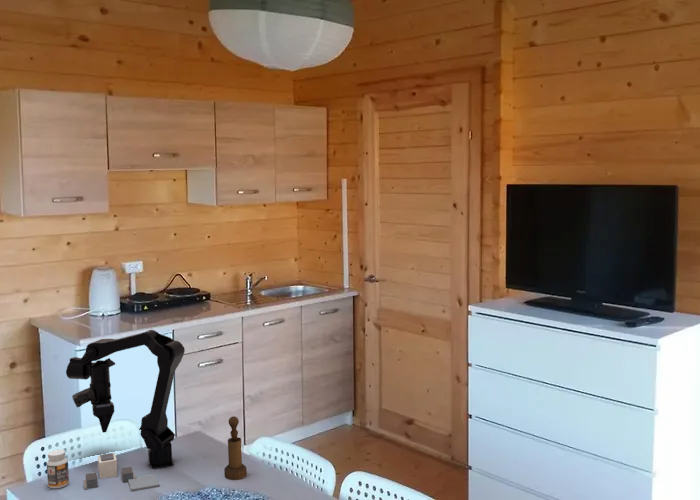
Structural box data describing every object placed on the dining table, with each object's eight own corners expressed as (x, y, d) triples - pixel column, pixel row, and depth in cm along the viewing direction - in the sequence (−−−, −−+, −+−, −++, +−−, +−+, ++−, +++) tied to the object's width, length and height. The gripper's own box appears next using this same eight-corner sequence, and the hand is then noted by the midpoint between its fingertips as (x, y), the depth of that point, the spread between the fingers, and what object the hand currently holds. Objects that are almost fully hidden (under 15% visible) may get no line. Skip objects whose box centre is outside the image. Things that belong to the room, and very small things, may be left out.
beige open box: (115, 468, 224) (114, 451, 224) (117, 476, 219) (116, 458, 218) (98, 471, 222) (97, 454, 222) (100, 479, 217) (99, 461, 216)
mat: (155, 476, 218) (155, 474, 218) (159, 486, 210) (159, 484, 210) (128, 480, 215) (127, 479, 214) (130, 491, 207) (130, 489, 207)
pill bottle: (61, 489, 209) (59, 456, 208) (44, 488, 211) (41, 455, 210) (73, 481, 215) (70, 449, 214) (55, 480, 216) (53, 448, 215)
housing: (134, 473, 220) (133, 465, 220) (136, 480, 215) (135, 472, 214) (83, 482, 214) (82, 474, 214) (84, 489, 209) (83, 481, 209)
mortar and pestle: (251, 473, 218) (248, 415, 217) (239, 481, 213) (236, 421, 211) (232, 469, 221) (230, 412, 219) (220, 477, 215) (217, 419, 213)
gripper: (72, 376, 235) (75, 422, 236) (74, 391, 218) (77, 441, 219) (108, 371, 239) (110, 417, 241) (113, 386, 222) (116, 435, 223)
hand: (103, 427), depth 231 cm, fingers open, 9 cm apart
